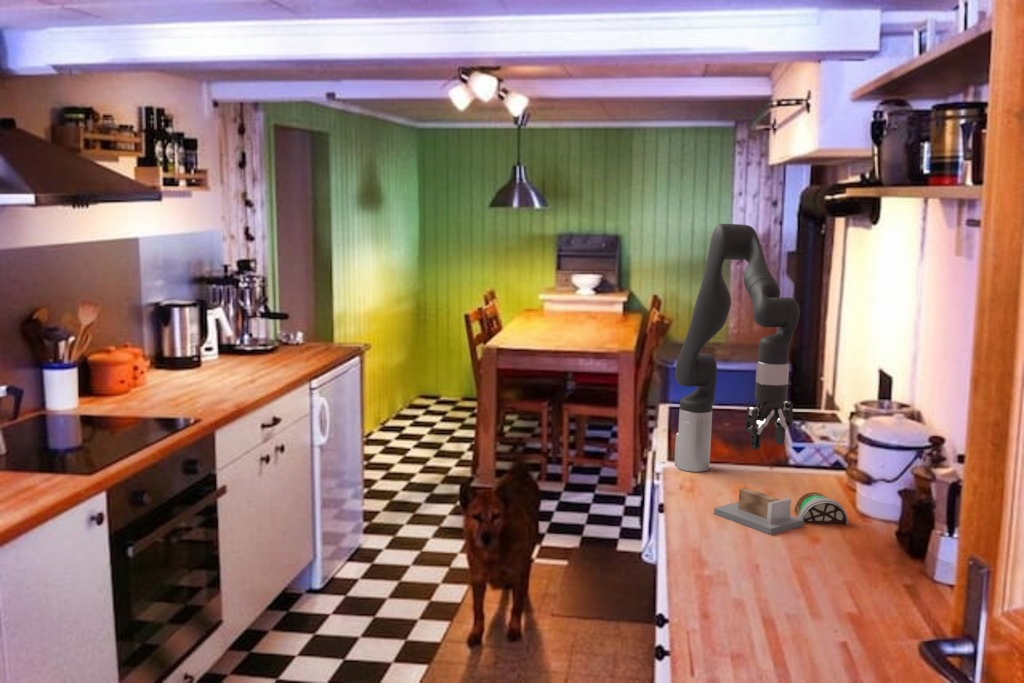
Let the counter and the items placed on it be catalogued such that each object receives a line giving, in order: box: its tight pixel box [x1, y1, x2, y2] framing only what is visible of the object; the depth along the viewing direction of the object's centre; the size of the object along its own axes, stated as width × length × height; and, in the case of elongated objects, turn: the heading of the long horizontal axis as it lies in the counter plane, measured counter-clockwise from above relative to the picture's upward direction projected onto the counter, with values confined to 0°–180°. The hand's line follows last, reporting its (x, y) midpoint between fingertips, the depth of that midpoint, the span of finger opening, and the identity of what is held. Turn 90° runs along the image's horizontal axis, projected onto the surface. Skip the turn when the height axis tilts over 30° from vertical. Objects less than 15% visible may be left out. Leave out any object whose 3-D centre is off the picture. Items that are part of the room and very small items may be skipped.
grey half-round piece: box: [794, 491, 849, 526], centre depth 255 cm, size 12×6×10 cm
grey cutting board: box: [713, 501, 805, 536], centre depth 253 cm, size 18×12×2 cm, turn 36°
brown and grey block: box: [738, 487, 792, 524], centre depth 252 cm, size 12×7×5 cm, turn 36°
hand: (767, 446), depth 249 cm, fingers open, 8 cm apart
